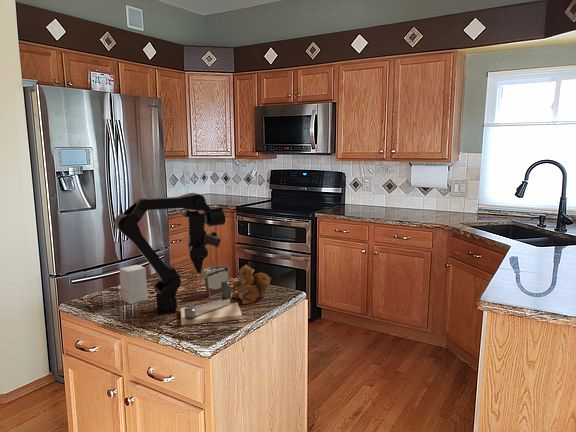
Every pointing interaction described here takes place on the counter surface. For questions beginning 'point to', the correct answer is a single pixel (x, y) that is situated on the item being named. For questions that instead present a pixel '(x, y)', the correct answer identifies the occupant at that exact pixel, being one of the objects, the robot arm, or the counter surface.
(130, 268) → the supplement box
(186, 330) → the counter surface
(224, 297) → the lever
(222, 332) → the counter surface
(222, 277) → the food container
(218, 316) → the base board
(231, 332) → the counter surface
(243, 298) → the stuffed squirrel
